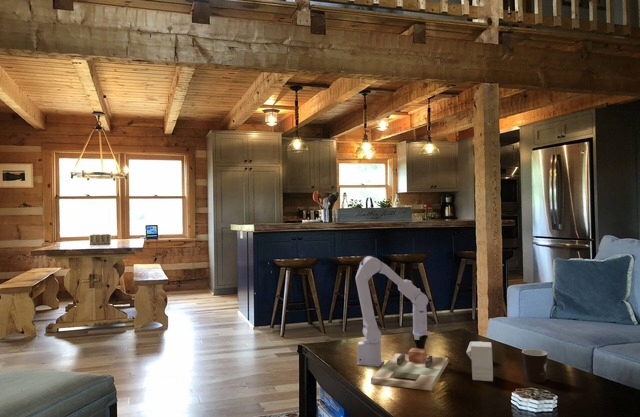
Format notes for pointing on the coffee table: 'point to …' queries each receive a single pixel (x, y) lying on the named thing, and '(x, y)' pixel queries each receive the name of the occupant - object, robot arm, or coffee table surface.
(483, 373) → the supplement box
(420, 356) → the block
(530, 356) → the coffee mug
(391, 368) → the deck
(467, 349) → the die
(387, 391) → the coffee table surface
